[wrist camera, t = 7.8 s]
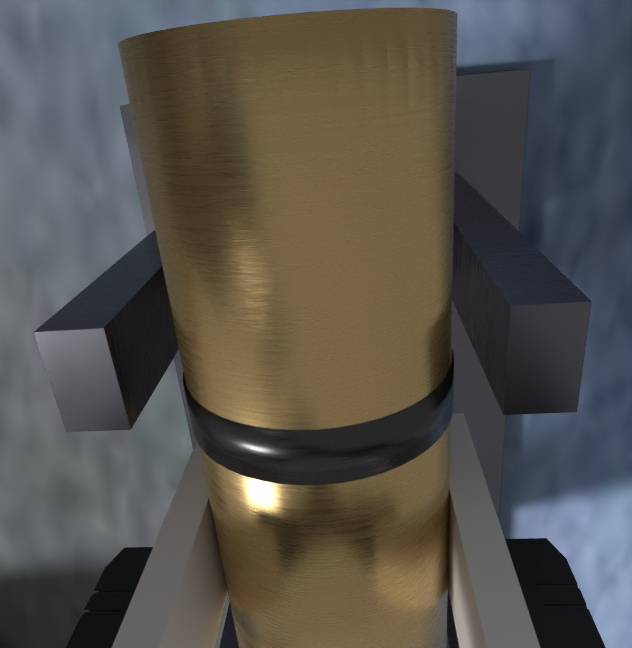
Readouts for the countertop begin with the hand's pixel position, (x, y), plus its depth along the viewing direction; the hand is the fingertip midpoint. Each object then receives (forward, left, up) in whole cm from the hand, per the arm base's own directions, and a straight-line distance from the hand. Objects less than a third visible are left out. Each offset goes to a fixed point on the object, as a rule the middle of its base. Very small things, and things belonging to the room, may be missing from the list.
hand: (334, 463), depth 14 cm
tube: (0, +1, 0) cm, 1 cm away
